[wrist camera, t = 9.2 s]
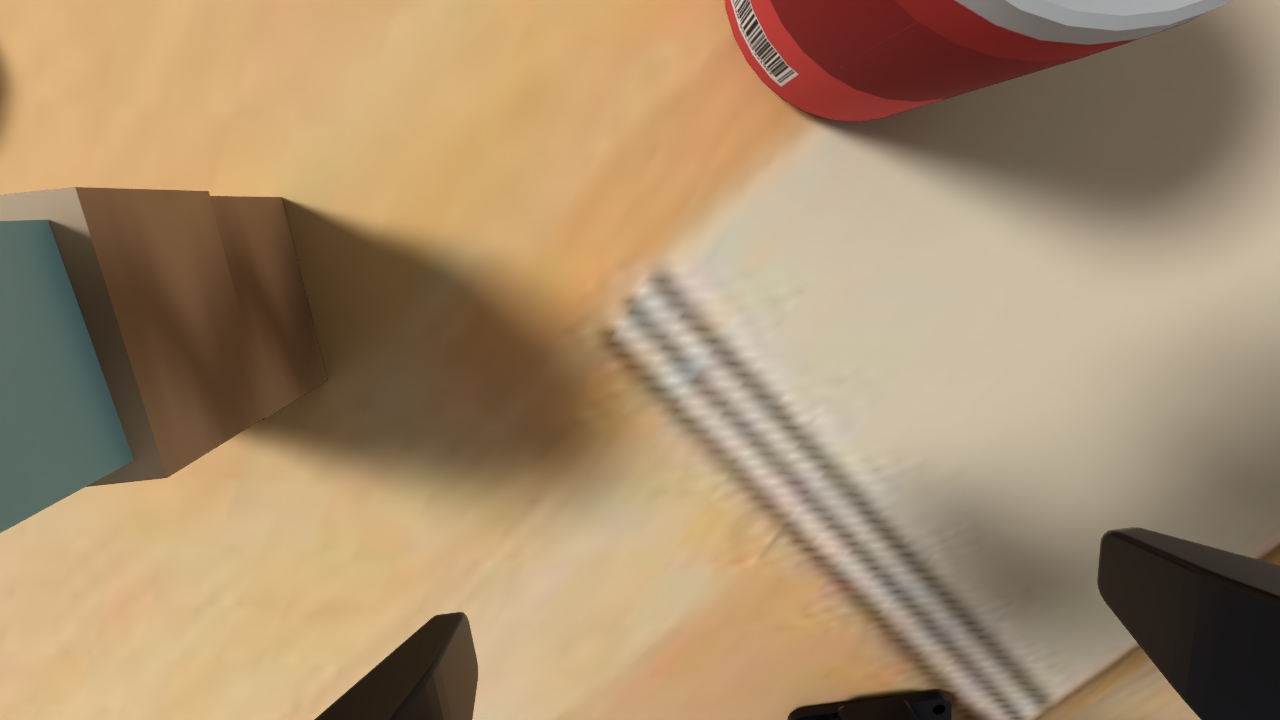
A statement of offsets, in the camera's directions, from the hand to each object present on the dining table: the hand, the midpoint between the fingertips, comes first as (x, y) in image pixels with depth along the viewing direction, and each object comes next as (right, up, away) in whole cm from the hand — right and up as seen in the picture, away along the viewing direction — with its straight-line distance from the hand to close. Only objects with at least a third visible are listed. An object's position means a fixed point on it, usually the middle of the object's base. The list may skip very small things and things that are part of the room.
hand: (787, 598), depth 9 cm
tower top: (-16, +4, +8) cm, 18 cm away
